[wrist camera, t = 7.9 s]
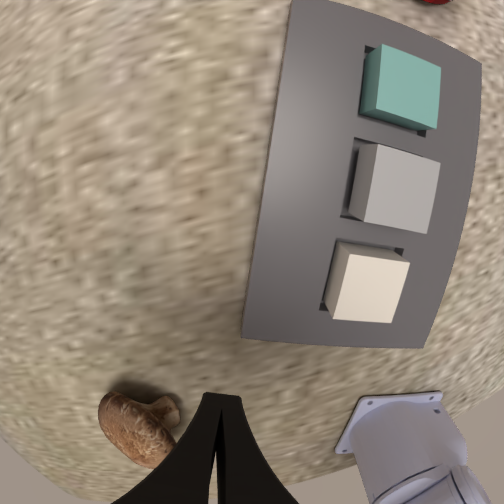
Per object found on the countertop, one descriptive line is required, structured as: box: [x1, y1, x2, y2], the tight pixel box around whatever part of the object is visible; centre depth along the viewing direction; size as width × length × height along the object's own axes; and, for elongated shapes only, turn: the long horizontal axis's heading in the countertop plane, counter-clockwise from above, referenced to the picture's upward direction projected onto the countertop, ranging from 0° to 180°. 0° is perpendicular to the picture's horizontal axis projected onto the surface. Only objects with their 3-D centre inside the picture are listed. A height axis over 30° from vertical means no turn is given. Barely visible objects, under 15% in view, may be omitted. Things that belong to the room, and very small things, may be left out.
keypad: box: [241, 0, 482, 348], centre depth 18 cm, size 14×22×2 cm, turn 172°
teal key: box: [359, 44, 441, 131], centre depth 15 cm, size 4×4×3 cm
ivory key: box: [323, 241, 410, 323], centre depth 19 cm, size 4×4×3 cm
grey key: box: [348, 144, 441, 234], centre depth 16 cm, size 4×4×3 cm
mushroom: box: [98, 391, 180, 469], centre depth 22 cm, size 8×8×6 cm
